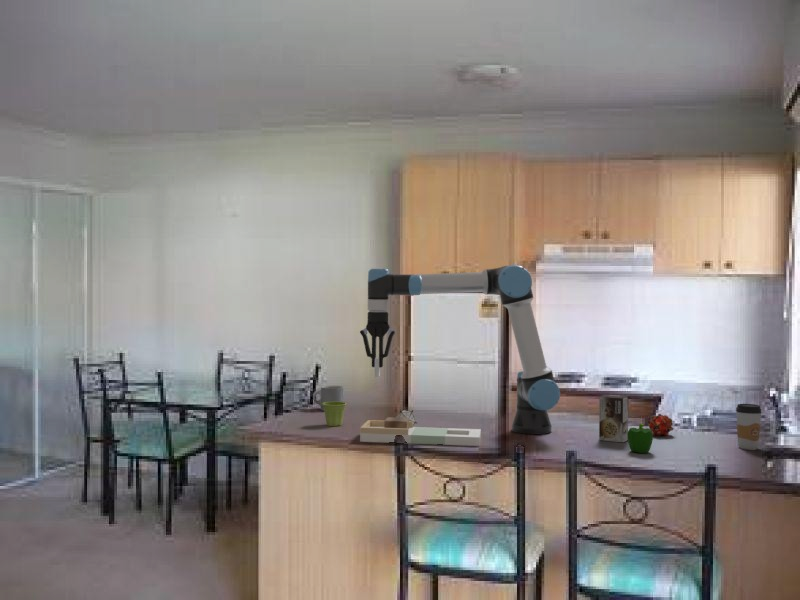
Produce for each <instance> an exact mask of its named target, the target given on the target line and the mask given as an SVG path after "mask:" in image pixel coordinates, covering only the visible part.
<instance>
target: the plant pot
mask: <svg viewBox="0 0 800 600" xmlns="http://www.w3.org/2000/svg"><path fill="white" fill-rule="evenodd" d="M322 404H323V406H324V410H325V411H324V416H325V421H326V422H325V425H326V426H328V427H337V426H342V425H343V420H344V412H345V408H346V405H347V402H344V401H343V402H324V403H322Z"/></svg>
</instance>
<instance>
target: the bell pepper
mask: <svg viewBox="0 0 800 600" xmlns="http://www.w3.org/2000/svg"><path fill="white" fill-rule="evenodd" d="M644 427H645V425H644V423H640V424H639V425H638V428H636V427H629V428H628V442H627V443H628V446H629V450H630V451H631V452H632V453H638V454H647V453H649V451H650V450H651V448H652V444H653V439H654V435H653V432H652V431H651V429H650V428H644Z"/></svg>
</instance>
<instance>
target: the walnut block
mask: <svg viewBox="0 0 800 600" xmlns="http://www.w3.org/2000/svg"><path fill="white" fill-rule="evenodd" d="M383 421H384V428H405V429H409V418H398V417H396V416H393V417H390V416H387V417H386V418H385V420H383Z"/></svg>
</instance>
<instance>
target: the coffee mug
mask: <svg viewBox="0 0 800 600" xmlns="http://www.w3.org/2000/svg"><path fill="white" fill-rule="evenodd" d="M317 395H319V398H320V399H319V400H318V399H317ZM312 399H313V402H314V403H315V404H317V405H318V406H320V410H321V411H324V412H325V410H324V406H323V404H322V403H324V402H344V386H342V385H323V386H320V389H319V390H315V391H314V392H313V394H312Z"/></svg>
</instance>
